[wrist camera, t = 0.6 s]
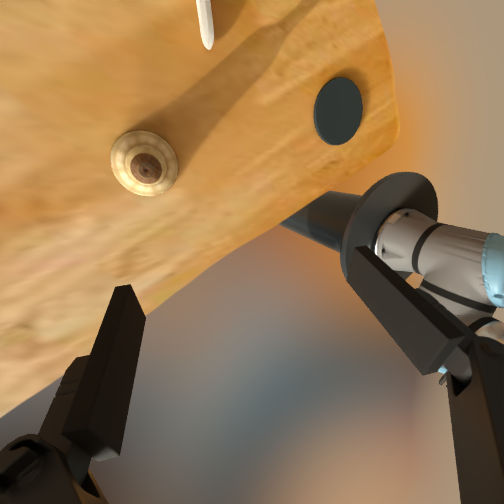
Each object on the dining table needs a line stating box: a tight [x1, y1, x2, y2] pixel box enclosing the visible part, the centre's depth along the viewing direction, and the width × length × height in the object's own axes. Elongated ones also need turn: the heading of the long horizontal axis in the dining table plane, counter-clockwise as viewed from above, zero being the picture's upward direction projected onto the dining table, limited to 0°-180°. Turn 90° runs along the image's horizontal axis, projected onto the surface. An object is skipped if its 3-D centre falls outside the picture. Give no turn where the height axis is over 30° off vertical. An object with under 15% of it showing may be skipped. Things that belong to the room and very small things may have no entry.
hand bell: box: [110, 130, 178, 196], centre depth 25 cm, size 8×8×16 cm
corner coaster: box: [314, 77, 363, 145], centre depth 41 cm, size 10×10×1 cm
